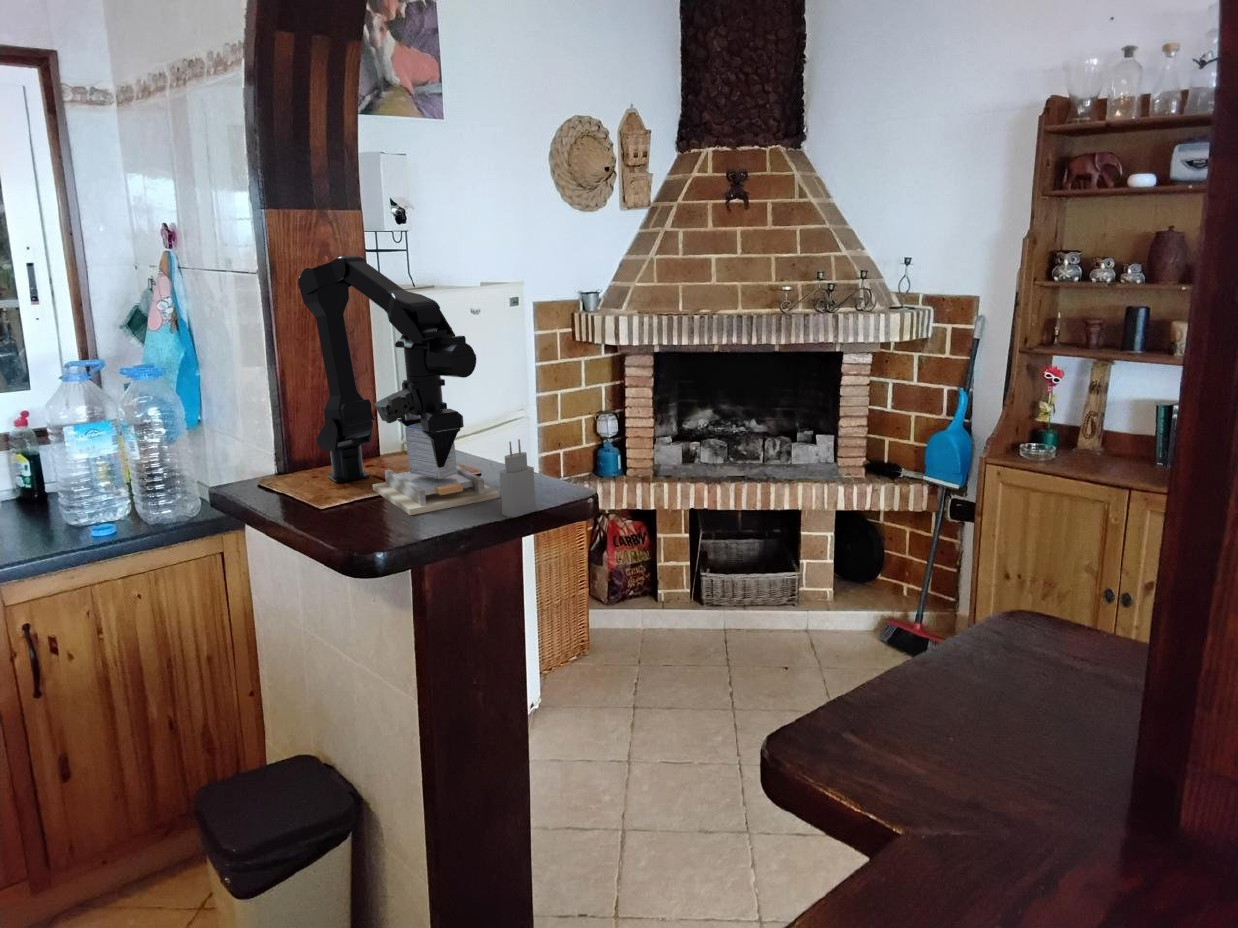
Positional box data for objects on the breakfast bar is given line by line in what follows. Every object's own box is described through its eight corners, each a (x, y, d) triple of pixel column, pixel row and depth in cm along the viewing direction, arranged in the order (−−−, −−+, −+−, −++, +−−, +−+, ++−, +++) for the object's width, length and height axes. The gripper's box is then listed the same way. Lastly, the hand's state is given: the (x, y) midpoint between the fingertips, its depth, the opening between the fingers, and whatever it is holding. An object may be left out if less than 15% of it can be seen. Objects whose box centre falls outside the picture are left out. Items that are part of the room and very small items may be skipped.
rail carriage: (396, 479, 167) (395, 473, 167) (443, 470, 171) (442, 465, 171) (426, 497, 154) (425, 492, 154) (476, 488, 158) (476, 482, 158)
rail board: (373, 489, 168) (370, 471, 167) (455, 475, 176) (454, 457, 175) (410, 515, 151) (408, 494, 151) (499, 497, 159) (498, 478, 159)
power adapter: (538, 509, 151) (533, 438, 149) (512, 517, 148) (507, 444, 145) (525, 506, 154) (521, 436, 151) (500, 514, 150) (495, 442, 147)
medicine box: (458, 473, 162) (454, 425, 160) (439, 479, 159) (434, 430, 157) (428, 468, 167) (423, 421, 165) (408, 474, 164) (404, 426, 161)
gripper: (360, 373, 162) (370, 459, 166) (395, 386, 147) (404, 481, 151) (421, 366, 168) (429, 450, 172) (461, 378, 152) (468, 469, 156)
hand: (431, 462), depth 162 cm, fingers closed on medicine box, 9 cm apart
